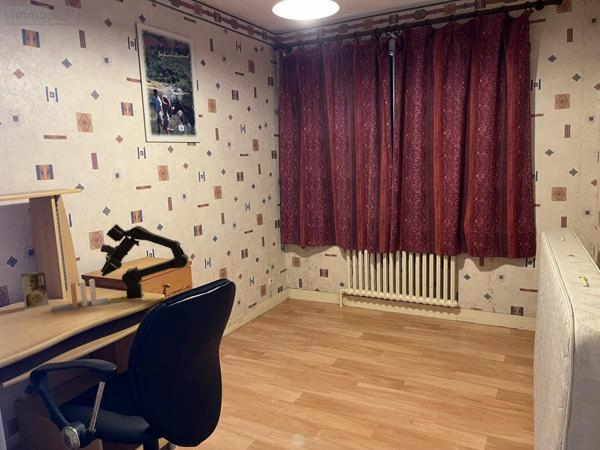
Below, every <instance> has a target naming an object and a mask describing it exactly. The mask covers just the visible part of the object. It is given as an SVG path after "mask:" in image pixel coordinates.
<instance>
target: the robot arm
mask: <svg viewBox="0 0 600 450" xmlns="http://www.w3.org/2000/svg"><path fill="white" fill-rule="evenodd" d="M106 236H107V237H109V238H110V239H111V240H113V241H114V242H119V244H118V245H115V246H111V245H110V244H104V243H102V245H101V247H100V253H106V254H105V262H104V265H103V266H102V267H101V269H100V272H101V276H102V277H105V276H107V275H109V274H111V273H112V272H115V271H117V270H119V269H120V268H122V264H123V263H122V262H123V260H124V258H125V257H126V256H128V254H129V253H130V251H131V250H132V249H133V247H134V246H135V245H136V246H137V247H140V241H147V242H149V243H150V242H151V243H154V244H157V245H159V246H162V247H164V248H168V249H170V250H171V252H172V255H173V257H172V258H171V259H169V260H166V261H163V262H159V263H156V264H153V265H150V266H147V267H143V268H138V266H135V267H132V268H128V269H127V270H126V271H125V272H124V273H123V274H122V275H121V281H122V282H123V284H125V286H126V289H125V290H126V291H125V292H126V293H125V294H126V298H127V299H128V300H129V299H131V300H133V299H142V298H143V297H144V293H143V284H142V281H143V278H144V277H147V276H150V275H151V276H152V275H154V274H157V273H160V272H164V271H166V270H171V269H181V268H184V267H186V266H187V264H188V263H189V260H190V258H189V256H188V255H187V254H186V253H185V251H184V250H183V248H182V247H181V246H180V243H179V241H177V240H173V239H171V238H168V237H165V236H162V235H158V234H157V233H153V232H151V231H149V230H148V229H147V228H144V227H143V226H141V225H135V226H134V227H132V228H130V229H126V230H125V229H123V228H122V227H121V226H119V224H117V223H116V224H114V226H112V227H111V228H110V229H109V230H108V231H107V232H106Z"/></svg>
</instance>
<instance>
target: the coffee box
mask: <svg viewBox="0 0 600 450" xmlns="http://www.w3.org/2000/svg"><path fill="white" fill-rule="evenodd" d="M45 274H46V273H45V271H43V270H37V271H30V272H26V273H21V274H20V279H21V286H22V292H23V293H22V294H23V300H24V308H25V309H27V310H29V309H34V308H38V307H43V306H48V305H50V304H49V296H48V289H47V283H46V281H47V280H46V275H45Z"/></svg>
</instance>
